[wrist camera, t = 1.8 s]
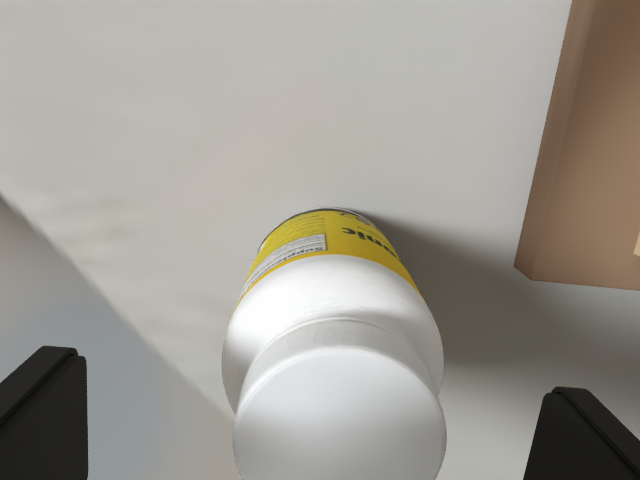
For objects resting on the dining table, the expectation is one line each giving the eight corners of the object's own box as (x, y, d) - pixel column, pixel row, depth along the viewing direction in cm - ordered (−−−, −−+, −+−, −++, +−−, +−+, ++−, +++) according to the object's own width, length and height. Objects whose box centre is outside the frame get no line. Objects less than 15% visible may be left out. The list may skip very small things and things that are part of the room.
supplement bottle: (422, 297, 19) (533, 494, 9) (300, 361, 19) (286, 606, 10) (354, 175, 17) (402, 257, 8) (226, 248, 18) (128, 403, 9)
